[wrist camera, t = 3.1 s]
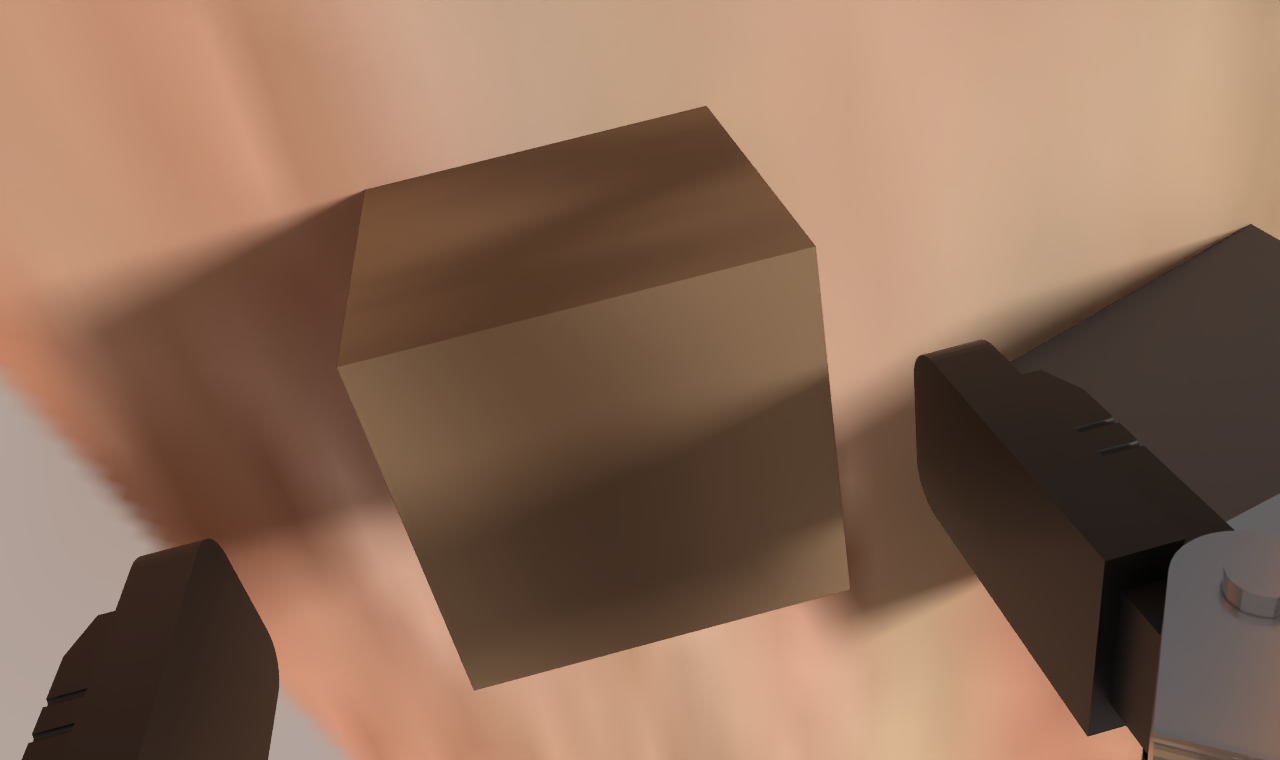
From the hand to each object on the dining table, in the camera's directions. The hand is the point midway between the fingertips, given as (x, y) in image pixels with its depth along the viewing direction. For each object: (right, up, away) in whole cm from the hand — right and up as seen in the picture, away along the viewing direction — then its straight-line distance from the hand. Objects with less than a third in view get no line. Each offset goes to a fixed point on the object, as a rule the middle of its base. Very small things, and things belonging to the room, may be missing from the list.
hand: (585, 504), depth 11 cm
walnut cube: (0, +3, +4) cm, 5 cm away
